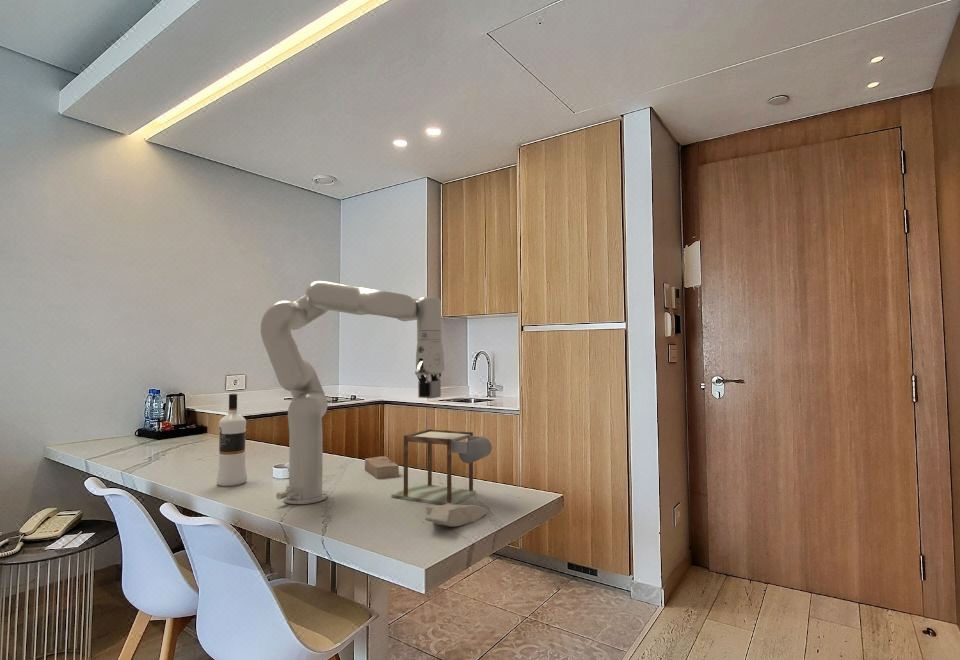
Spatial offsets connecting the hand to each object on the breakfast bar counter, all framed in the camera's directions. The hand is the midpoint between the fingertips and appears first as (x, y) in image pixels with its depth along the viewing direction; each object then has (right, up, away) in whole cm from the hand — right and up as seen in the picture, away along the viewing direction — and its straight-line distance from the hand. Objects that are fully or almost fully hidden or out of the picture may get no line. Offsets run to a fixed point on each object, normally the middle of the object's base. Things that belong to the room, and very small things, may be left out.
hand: (429, 394), depth 164 cm
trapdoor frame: (+1, -31, -2) cm, 31 cm away
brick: (-20, -32, +28) cm, 47 cm away
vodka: (-68, -32, +13) cm, 76 cm away
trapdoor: (+7, -18, -4) cm, 20 cm away
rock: (+7, -30, -26) cm, 40 cm away
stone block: (0, -1, 0) cm, 1 cm away
